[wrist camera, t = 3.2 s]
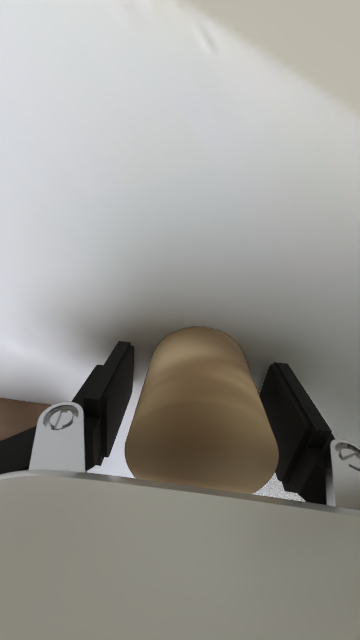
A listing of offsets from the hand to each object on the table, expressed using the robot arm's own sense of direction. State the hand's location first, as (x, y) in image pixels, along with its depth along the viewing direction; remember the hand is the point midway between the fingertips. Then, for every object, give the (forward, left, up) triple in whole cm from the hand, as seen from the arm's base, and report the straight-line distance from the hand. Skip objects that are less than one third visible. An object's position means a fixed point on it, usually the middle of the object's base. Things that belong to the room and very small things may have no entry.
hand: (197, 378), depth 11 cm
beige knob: (0, 0, -1) cm, 1 cm away
